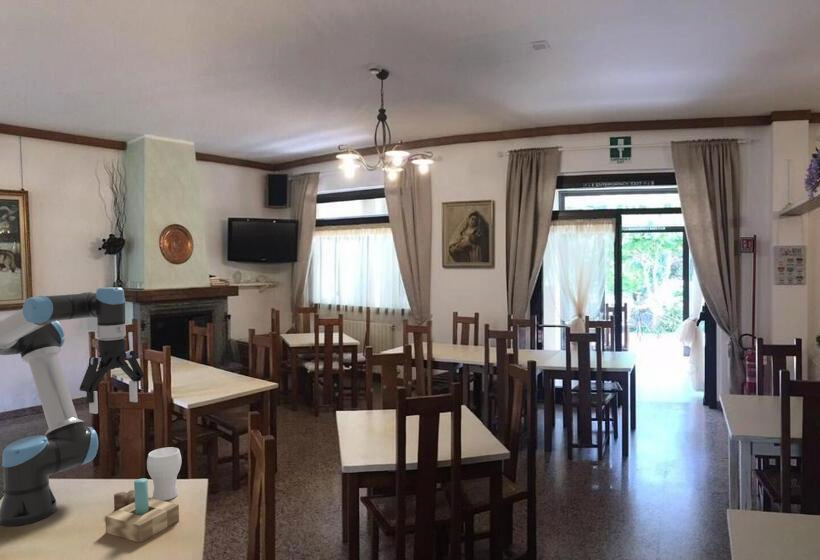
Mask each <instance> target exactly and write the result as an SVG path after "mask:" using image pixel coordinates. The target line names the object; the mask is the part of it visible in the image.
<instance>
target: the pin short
mask: <svg viewBox="0 0 820 560" xmlns="http://www.w3.org/2000/svg"><path fill="white" fill-rule="evenodd" d="M113 501H114V502H113V505H114V506H113V507H114V511H113V512H115V511H117V510H119V509H121V508H123V507H125V506H127V505H128V503H127V492H126V491H120V492H116V493H115V494H114V495H113Z"/></svg>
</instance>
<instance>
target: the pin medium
mask: <svg viewBox="0 0 820 560" xmlns="http://www.w3.org/2000/svg"><path fill="white" fill-rule="evenodd" d="M126 493H127V505H130V504H132V503H134V502H135V491H134V489H133V490H132V489H130V490H129V491H128V492H126Z"/></svg>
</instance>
